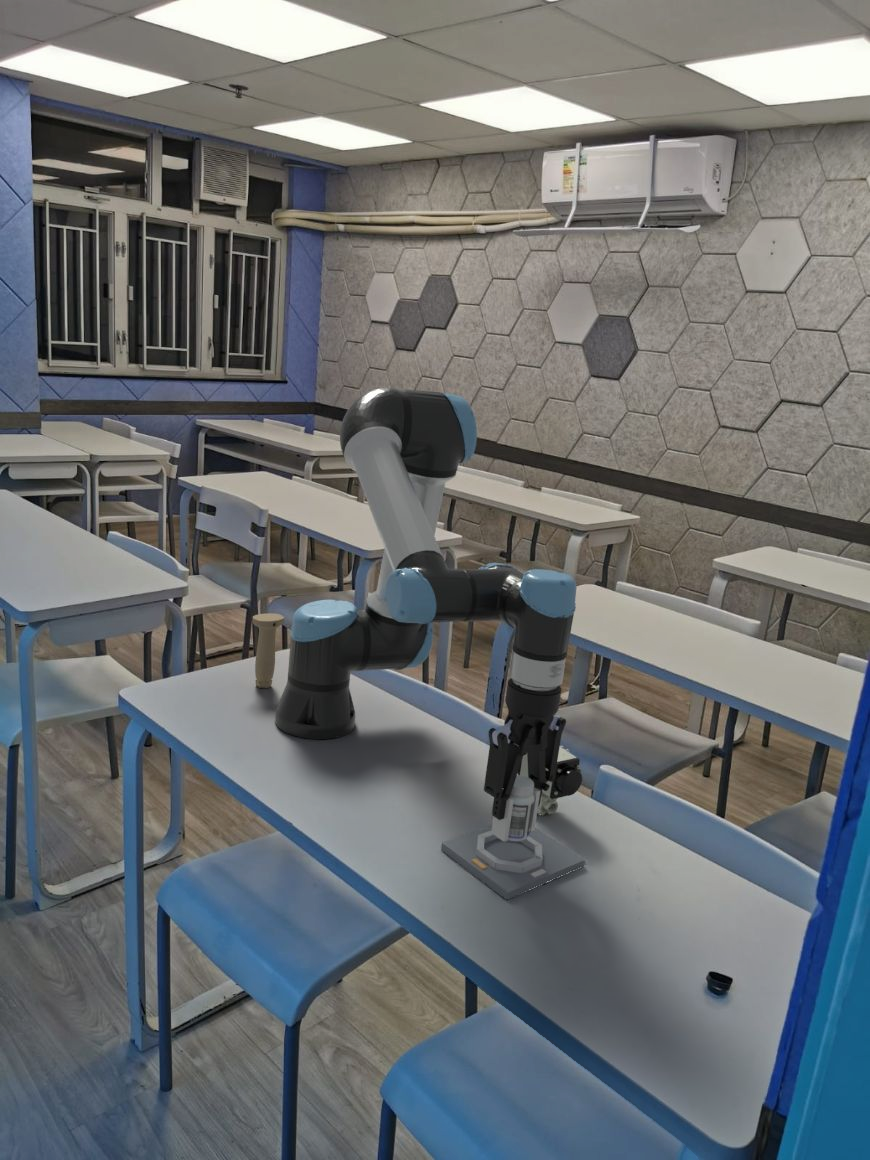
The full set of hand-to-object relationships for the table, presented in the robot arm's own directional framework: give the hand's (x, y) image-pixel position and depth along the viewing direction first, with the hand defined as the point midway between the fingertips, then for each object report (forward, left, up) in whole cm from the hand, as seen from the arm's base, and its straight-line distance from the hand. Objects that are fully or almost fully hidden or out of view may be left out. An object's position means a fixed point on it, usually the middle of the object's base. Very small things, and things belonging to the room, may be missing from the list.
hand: (512, 831), depth 127 cm
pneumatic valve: (-8, +16, -5) cm, 19 cm away
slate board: (0, +1, -5) cm, 5 cm away
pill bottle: (0, 0, -1) cm, 1 cm away
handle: (-73, 0, -5) cm, 73 cm away
